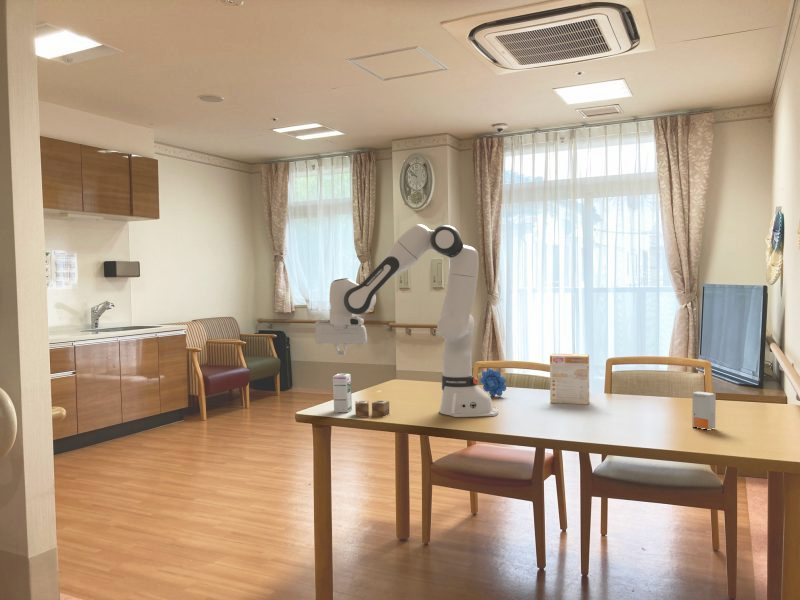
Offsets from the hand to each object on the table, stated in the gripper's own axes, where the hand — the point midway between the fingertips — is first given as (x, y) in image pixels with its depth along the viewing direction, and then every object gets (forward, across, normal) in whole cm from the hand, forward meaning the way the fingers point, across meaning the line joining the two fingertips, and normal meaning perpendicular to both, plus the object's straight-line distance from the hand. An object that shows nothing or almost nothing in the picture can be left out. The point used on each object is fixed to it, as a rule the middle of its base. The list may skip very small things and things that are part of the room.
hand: (341, 355), depth 254 cm
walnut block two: (+22, +16, -6) cm, 28 cm away
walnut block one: (+22, +10, -7) cm, 25 cm away
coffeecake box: (+21, +90, +21) cm, 95 cm away
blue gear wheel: (+22, +60, +32) cm, 71 cm away
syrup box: (+22, 0, 0) cm, 22 cm away
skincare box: (+20, +128, -22) cm, 132 cm away
